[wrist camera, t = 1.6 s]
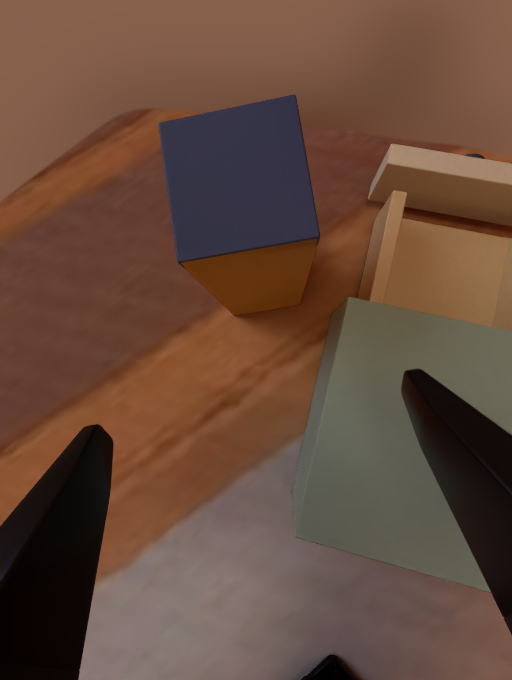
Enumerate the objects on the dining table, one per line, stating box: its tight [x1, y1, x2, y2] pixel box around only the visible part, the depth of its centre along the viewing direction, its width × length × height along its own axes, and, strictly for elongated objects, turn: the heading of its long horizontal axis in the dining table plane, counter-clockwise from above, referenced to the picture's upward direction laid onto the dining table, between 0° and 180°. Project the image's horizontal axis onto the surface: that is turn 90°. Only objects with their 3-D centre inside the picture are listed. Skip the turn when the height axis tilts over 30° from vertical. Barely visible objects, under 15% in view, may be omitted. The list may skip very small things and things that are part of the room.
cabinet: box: [292, 297, 512, 593], centre depth 20 cm, size 13×12×6 cm
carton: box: [159, 95, 320, 315], centre depth 18 cm, size 5×5×13 cm
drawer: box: [357, 144, 512, 331], centre depth 20 cm, size 13×10×4 cm
